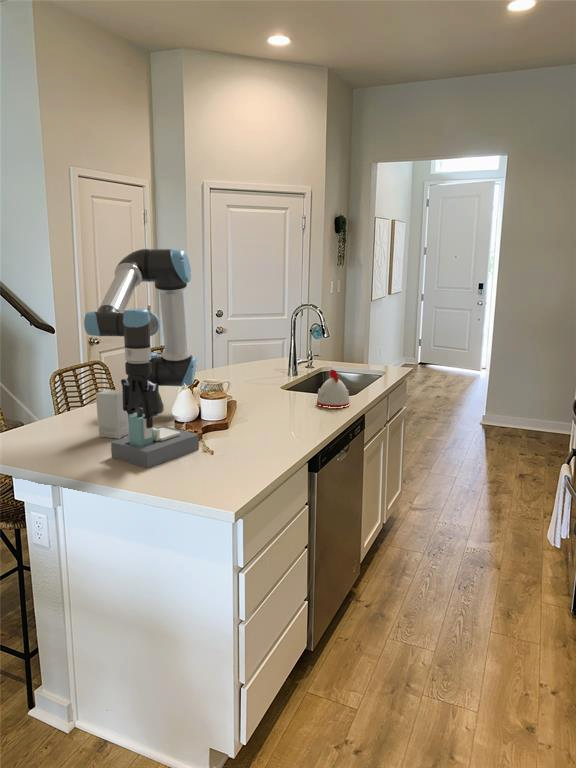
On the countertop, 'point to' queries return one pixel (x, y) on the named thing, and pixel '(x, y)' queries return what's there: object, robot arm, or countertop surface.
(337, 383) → the white knitted dome
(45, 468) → the countertop surface
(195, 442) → the socket block
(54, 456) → the countertop surface
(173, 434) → the white l-shaped bracket
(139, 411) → the teal square bottle
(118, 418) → the skincare box
